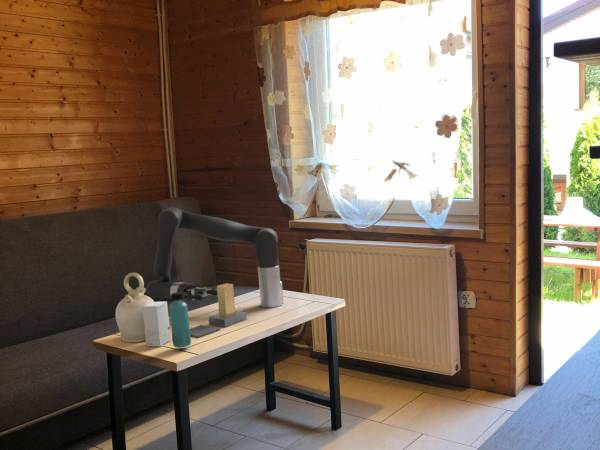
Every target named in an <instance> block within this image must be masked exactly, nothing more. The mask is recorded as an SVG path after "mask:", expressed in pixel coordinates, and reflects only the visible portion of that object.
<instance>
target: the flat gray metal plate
mask: <svg viewBox="0 0 600 450" xmlns="http://www.w3.org/2000/svg"><path fill="white" fill-rule="evenodd" d="M219 331H221V328H220V327H215V326H207V325H203V324H200V325H197V326H193V327H190V337H193V338H196V339H197V338H198V339H199V338H203V337H205V336H208V335H211V334H213V333H216V332H219Z"/></svg>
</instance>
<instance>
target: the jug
mask: <svg viewBox="0 0 600 450" xmlns="http://www.w3.org/2000/svg"><path fill="white" fill-rule="evenodd" d="M132 277H134V278H136V279H137V281H138V286H137V287H136V288H135V289H134V288H132V287H131V286H130V284H129V282H130V280H131V279H130V278H132ZM123 286H124V289H125V290H126V291H127V292H128V294H125V296H124V298H122V299H121V300H120V301H119V302H118V303H117V306H116V308H115V321H116V323H117V327H118V330H119V333H120V336H121V338H122V341H124V342H126V343H132V344H133V343H141V342H146V335H145V326H144V317H143V308H142V307H143V306H145V305H147V304H150V303H152V302H155V301H154V299H152V297H151V296H148V295H146V294H145V293H146V292H147V288H145V287H144V286H145V282H144V279H143V276H142V275H140V273H138V272H130V273H128V274H126V276H125V277H124V279H123Z"/></svg>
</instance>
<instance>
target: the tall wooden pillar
mask: <svg viewBox="0 0 600 450" xmlns="http://www.w3.org/2000/svg"><path fill="white" fill-rule="evenodd" d="M216 290H217V293H218V295H217V302H218V304H217V305H218V314H219V316H224V317H228V316H230V315H233V314H236V313H235V311H236V303H235V291H234V283H223V284H219V285H217V286H216Z"/></svg>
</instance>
